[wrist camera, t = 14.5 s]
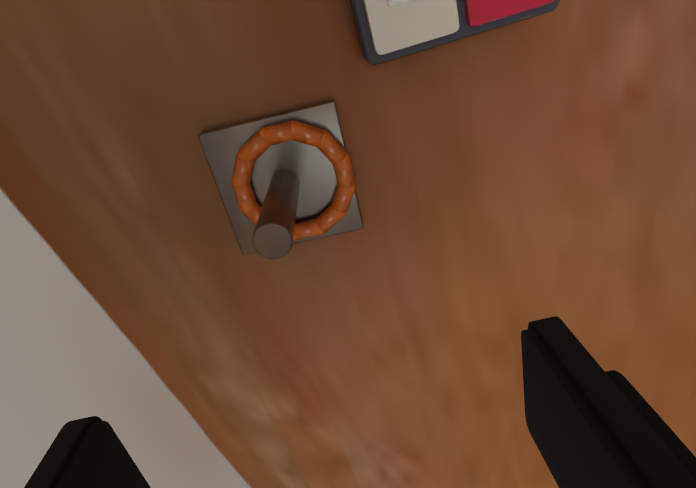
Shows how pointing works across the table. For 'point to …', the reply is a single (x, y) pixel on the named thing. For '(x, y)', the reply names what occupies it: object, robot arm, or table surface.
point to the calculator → (432, 22)
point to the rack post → (279, 180)
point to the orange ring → (307, 136)
